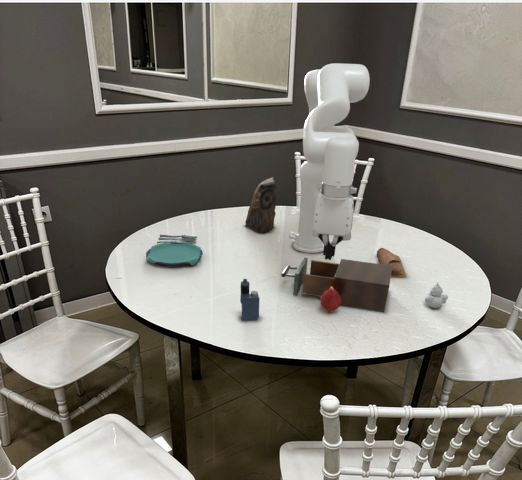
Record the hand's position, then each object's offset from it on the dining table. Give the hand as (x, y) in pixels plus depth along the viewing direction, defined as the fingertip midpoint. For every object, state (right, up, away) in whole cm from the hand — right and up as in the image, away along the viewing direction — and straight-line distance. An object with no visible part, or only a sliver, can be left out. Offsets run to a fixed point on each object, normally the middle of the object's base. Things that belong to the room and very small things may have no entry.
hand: (328, 258), depth 130 cm
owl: (-19, +26, +67) cm, 74 cm away
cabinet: (+12, -9, +15) cm, 21 cm away
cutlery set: (-50, +10, +41) cm, 65 cm away
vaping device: (-22, -17, +2) cm, 28 cm away
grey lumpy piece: (+34, -13, +12) cm, 38 cm away
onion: (+1, -15, +7) cm, 16 cm away
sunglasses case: (+27, +4, +36) cm, 46 cm away
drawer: (-2, -6, +18) cm, 19 cm away
